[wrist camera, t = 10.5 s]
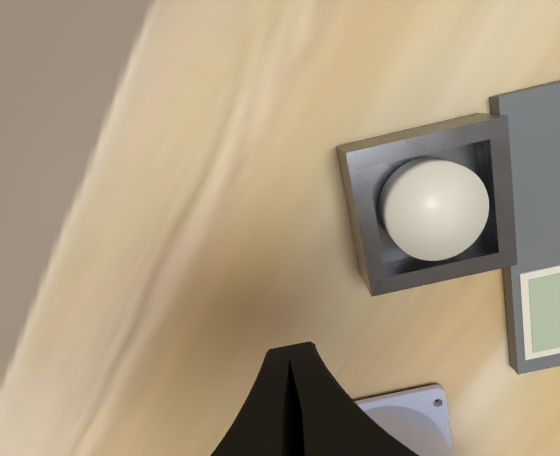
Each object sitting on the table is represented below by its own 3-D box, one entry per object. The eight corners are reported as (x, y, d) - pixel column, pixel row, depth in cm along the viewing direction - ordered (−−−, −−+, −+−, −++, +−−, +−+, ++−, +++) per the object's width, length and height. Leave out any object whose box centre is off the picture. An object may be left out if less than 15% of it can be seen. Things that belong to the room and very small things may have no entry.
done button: (476, 237, 20) (492, 248, 19) (385, 257, 20) (395, 270, 19) (467, 147, 19) (484, 151, 18) (371, 169, 19) (380, 175, 18)
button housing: (489, 245, 22) (517, 264, 19) (360, 274, 22) (371, 296, 20) (478, 112, 20) (508, 115, 17) (336, 146, 20) (346, 153, 18)
